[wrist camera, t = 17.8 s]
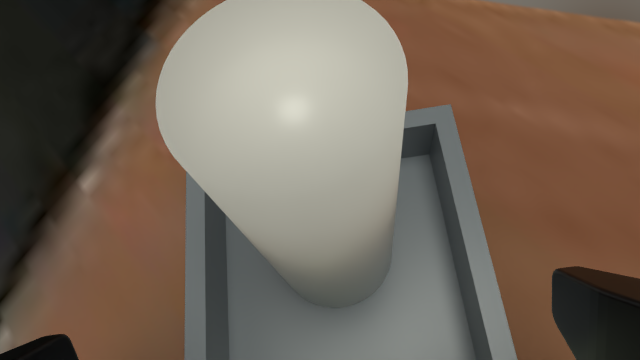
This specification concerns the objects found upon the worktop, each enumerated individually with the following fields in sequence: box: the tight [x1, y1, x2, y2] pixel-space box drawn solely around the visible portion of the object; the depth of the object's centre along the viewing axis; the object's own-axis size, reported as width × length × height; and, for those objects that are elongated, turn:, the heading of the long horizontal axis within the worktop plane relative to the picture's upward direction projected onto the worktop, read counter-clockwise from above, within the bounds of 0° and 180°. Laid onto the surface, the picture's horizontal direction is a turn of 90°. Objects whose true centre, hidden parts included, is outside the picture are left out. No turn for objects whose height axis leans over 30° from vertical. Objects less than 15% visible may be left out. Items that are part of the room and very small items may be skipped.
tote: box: [185, 104, 517, 360], centre depth 19 cm, size 17×12×4 cm
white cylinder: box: [156, 0, 408, 308], centre depth 15 cm, size 5×5×13 cm
